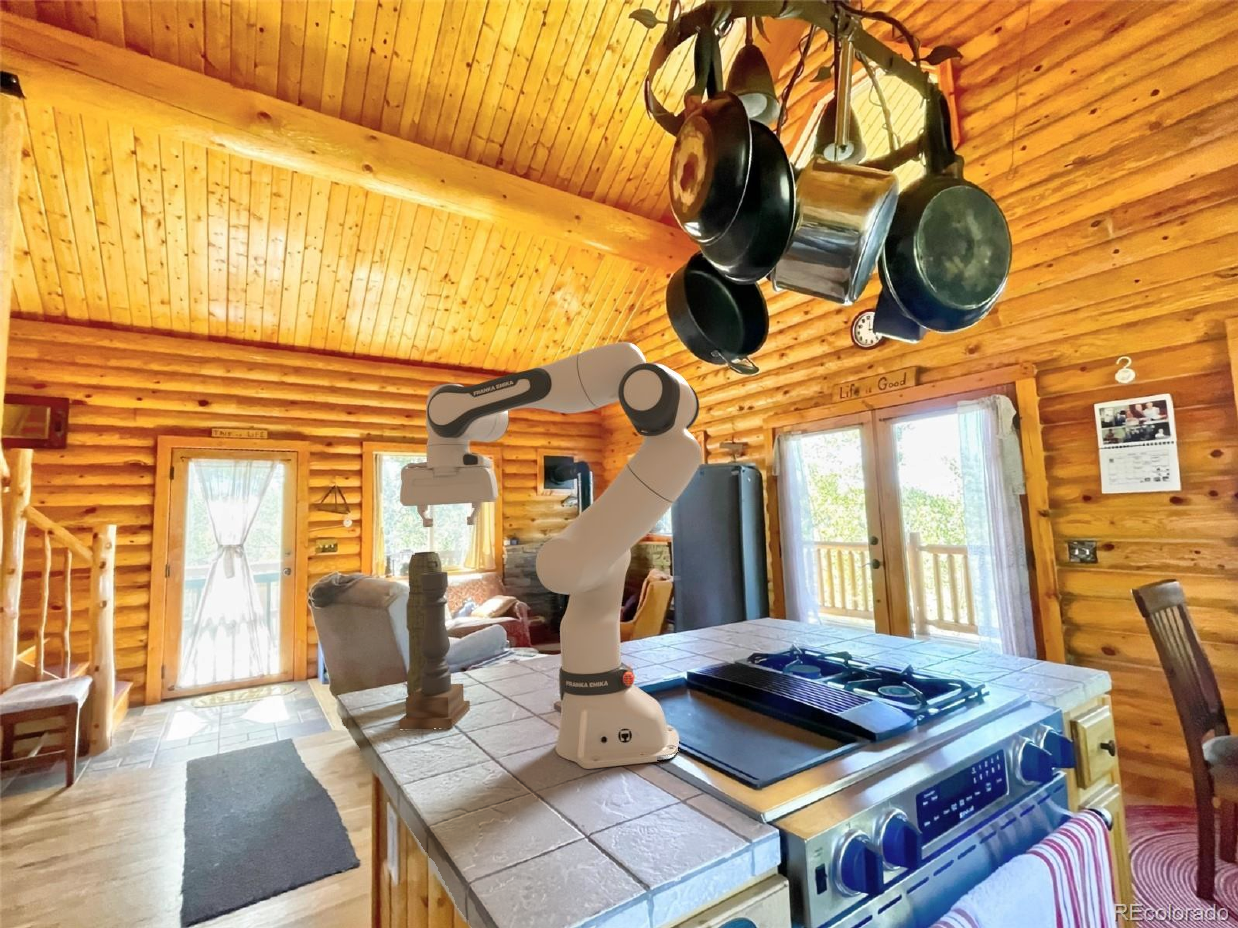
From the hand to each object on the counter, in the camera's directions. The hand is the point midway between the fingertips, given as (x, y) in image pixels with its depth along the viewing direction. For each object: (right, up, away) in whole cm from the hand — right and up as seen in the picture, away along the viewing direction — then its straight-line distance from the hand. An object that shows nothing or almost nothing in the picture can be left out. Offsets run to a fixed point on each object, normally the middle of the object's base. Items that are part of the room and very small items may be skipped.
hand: (449, 526), depth 116 cm
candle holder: (-4, -36, +2) cm, 36 cm away
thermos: (-10, -43, +14) cm, 47 cm away
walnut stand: (-4, -42, +2) cm, 42 cm away
